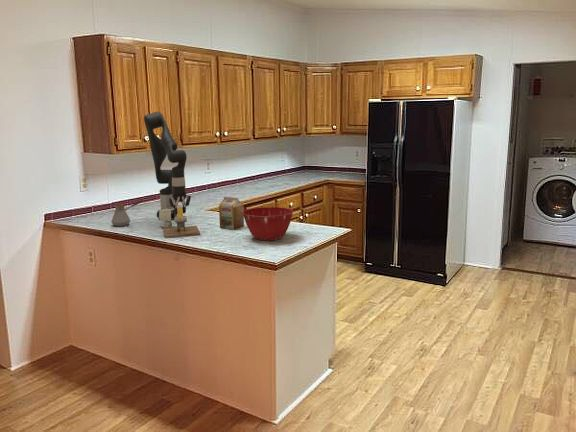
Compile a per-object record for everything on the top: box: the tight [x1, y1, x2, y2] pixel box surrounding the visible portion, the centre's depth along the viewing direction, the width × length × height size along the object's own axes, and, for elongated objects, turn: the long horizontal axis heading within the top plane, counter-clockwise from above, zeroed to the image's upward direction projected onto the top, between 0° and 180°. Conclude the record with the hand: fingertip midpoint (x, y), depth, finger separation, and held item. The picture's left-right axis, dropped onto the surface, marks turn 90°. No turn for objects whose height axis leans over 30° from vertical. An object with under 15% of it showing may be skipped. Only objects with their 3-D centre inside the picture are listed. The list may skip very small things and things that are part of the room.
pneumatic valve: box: [156, 208, 178, 228], centre depth 314 cm, size 6×12×12 cm, turn 79°
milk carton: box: [218, 196, 245, 231], centre depth 309 cm, size 11×11×19 cm
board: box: [162, 222, 201, 239], centre depth 298 cm, size 20×20×6 cm
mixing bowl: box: [242, 206, 294, 242], centre depth 284 cm, size 28×28×15 cm
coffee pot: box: [111, 199, 145, 228], centre depth 322 cm, size 21×12×15 cm, turn 120°
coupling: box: [174, 204, 188, 224], centre depth 297 cm, size 7×11×9 cm, turn 12°
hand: (180, 213), depth 297 cm, fingers closed on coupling, 4 cm apart
